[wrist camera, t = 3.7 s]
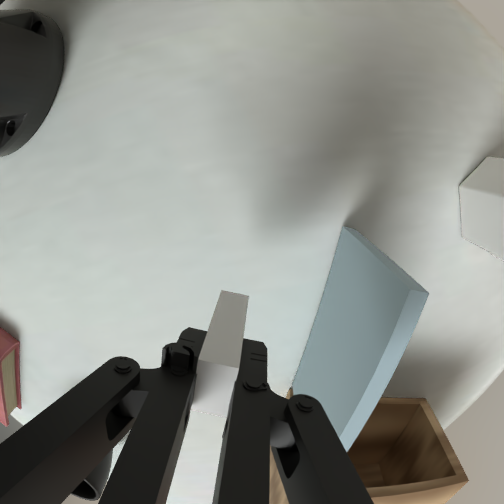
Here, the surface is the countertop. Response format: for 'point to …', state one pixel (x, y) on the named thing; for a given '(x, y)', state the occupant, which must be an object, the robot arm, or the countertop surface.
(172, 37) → the countertop surface
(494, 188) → the jar
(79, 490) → the mug
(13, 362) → the book
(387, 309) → the door
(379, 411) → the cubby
